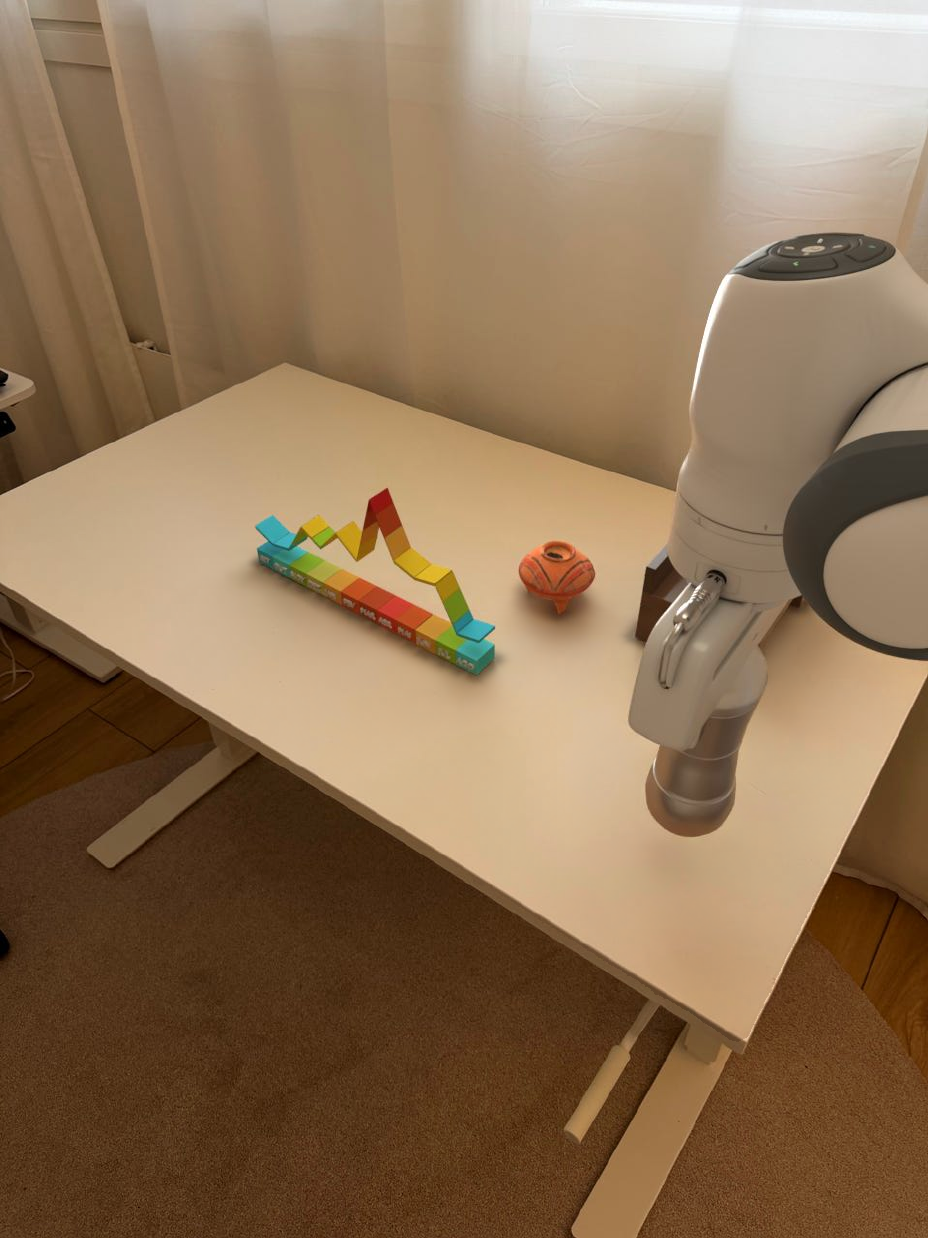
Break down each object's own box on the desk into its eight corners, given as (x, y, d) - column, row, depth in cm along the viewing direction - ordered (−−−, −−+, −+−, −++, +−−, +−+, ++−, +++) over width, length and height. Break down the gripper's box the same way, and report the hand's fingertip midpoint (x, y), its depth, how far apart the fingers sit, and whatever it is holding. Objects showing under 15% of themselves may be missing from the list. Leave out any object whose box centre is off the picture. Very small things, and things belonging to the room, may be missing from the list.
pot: (508, 613, 93) (511, 553, 89) (526, 584, 99) (530, 527, 96) (584, 626, 91) (590, 565, 87) (597, 595, 97) (603, 537, 94)
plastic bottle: (626, 823, 67) (658, 620, 54) (665, 765, 71) (703, 563, 58) (707, 864, 64) (761, 660, 51) (742, 801, 68) (801, 598, 55)
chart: (257, 563, 100) (234, 444, 90) (278, 549, 102) (258, 431, 92) (475, 677, 86) (475, 551, 76) (494, 659, 88) (497, 533, 78)
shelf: (806, 598, 95) (828, 528, 89) (747, 685, 85) (768, 613, 79) (700, 559, 100) (715, 490, 94) (634, 637, 90) (645, 566, 84)
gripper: (728, 656, 43) (687, 830, 52) (858, 473, 56) (807, 638, 65) (613, 609, 46) (593, 782, 55) (761, 445, 59) (725, 607, 68)
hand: (710, 703), depth 60 cm, fingers closed on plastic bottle, 6 cm apart
